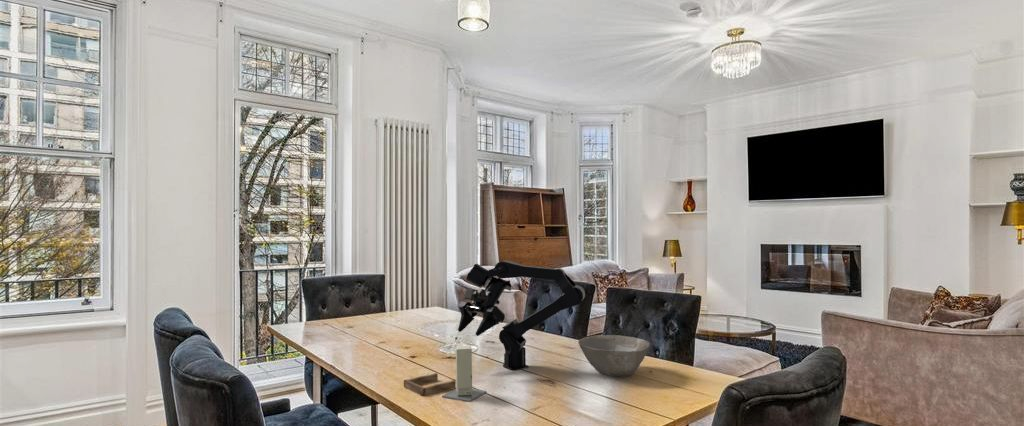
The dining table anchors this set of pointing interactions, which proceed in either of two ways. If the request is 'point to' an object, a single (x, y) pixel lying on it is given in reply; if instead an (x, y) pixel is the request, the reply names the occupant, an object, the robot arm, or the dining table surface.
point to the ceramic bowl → (614, 353)
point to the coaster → (467, 398)
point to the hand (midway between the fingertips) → (467, 333)
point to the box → (464, 370)
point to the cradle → (415, 387)
